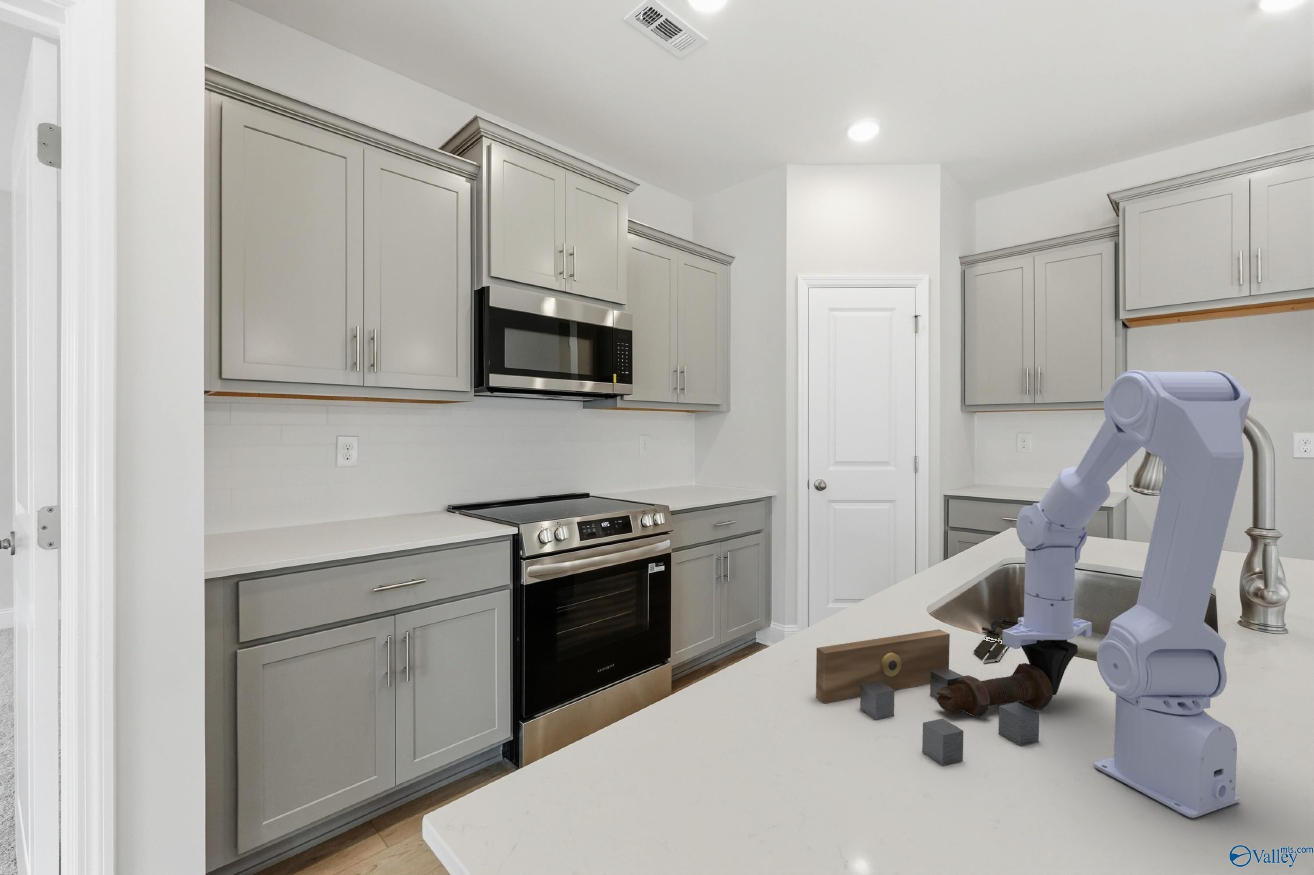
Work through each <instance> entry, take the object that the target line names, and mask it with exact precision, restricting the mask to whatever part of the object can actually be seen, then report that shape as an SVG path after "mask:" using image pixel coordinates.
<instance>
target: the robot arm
mask: <svg viewBox="0 0 1314 875" xmlns="http://www.w3.org/2000/svg"><path fill="white" fill-rule="evenodd" d="M1251 400H1252V398H1251V395H1250V394H1249V393H1248V392H1247V391H1246V390H1245V389H1244V387H1243V386H1242V385H1241V384H1240V383H1239V382H1238V380H1237V379H1236V378H1235V377H1233V376H1232V374H1230V373H1228V372H1226V371H1222V370H1213V369H1212V370H1206V371H1145V370H1142V369H1141V370H1140V369H1131V370H1127V371H1125V372H1123V373H1122V374H1120V375H1118V377H1117V378H1116V379H1115V380H1114V382H1113V384H1112V385H1111V387H1110V389H1109V392H1108V393H1107V394H1106V395H1105V396H1104V397H1103V412H1104V416H1105V420H1104V421H1103V423H1102V425H1101V427H1099V429H1098V431H1097V434H1096V435H1095V437H1094V438H1093V440H1092V442H1091V443H1090V445H1089V447H1088V449H1087V450H1086V452H1085V454H1084V456H1083V457H1082V459H1081V461H1080V462H1079V464H1078V466H1071V467H1066V468H1064V469H1062V470H1060V472H1059V473H1058V475H1057V477H1056V479H1055V480H1054V481H1053V482H1052V485H1050V487H1049V489H1047V492H1046V493H1045V494H1044V495H1043V497H1042V498H1041V500H1040V501H1039V502H1034V503H1032V505H1025V506H1023V507H1021V508H1020V511H1019V513H1018V515H1017V518H1016V524H1015V529H1016V535H1017V537H1018V541H1019V542H1020V543H1021V545H1022V546H1024V547H1025V548H1024V549H1025V552H1024V554H1025V555H1024V556H1025V558H1024V559H1025V560H1024V593H1023V594H1024V598H1023V600H1024V601H1023V602H1024V603H1023V604H1024V605H1023V616H1021V617H1017V621H1018V623H1019V624H1017V625H1015V626H1011V627H1012V628H1010V627H1009V628H1010V629H1006V630H1004V629H1002V630H1003V631H1002V636H1003V638H1002V637H1001V638H1002V644H1004V645H1006V646H1009V648H1012V649H1013V650H1018V649H1022V651H1023V653H1024V654H1025V656H1026V658H1027V661H1028V664H1031V665H1033V666H1036V667H1038V668H1040V669H1041V670H1042V671H1043V672H1044V673H1045V674H1046V676H1047V677H1048V679H1049V681H1050V683H1051V686H1052V691H1053V696H1057V694H1058V691H1059V688H1060V685H1061V682H1062V679H1063V677H1064V674H1065V671H1066V670H1067V668H1068V665H1069V664H1070V662H1071V661H1072V659H1073V658H1074V657H1075V656H1076V655H1077V653H1078V652H1079V651H1078V650H1079V649H1078V648H1079V647H1078V644H1076V643H1073V642H1071V641H1068V640H1073V639H1075V637H1079V636H1080V637H1081V636H1083V637H1086V638H1087V637H1088V638H1089V637H1092V627H1093V625H1092V624H1093V623H1092V622H1091V621H1089V620H1088V621H1087V620H1084V619H1081V618H1075V617H1074V614H1075V613H1074V612H1075V611H1074V610H1075V608H1074V607H1075V579H1076V578H1075V576H1076V575H1075V574H1076V573H1075V570H1076V564H1078V563H1079V560H1081V552H1082V551H1081V550H1082V549H1083V547H1084V545H1085V544H1086V542H1087V539H1088V532H1089V531H1087V530H1086V525H1087V524H1088V523H1089V521H1091V520H1092V518H1093V517H1094V515H1095V514H1096V513H1097V512H1098V511H1099V509H1100V508H1101V507H1103V505H1104V503H1105V502H1106V501H1107V500H1108V499H1109V498H1110V496H1111V488H1110V485H1109V483H1108V482H1109V481H1110V480H1111V479H1112V478H1113V477H1114V476H1115V475H1116V474H1117V472H1119V471H1120V470H1121V469H1122V468H1123V466H1124V465H1126V464H1127V462H1129V461H1130V460H1131V458H1133V456H1135V454H1136V453H1137V452H1138V451H1139V450H1140V449H1141V448H1143V449H1144V450H1146V451H1147V452H1149V453H1150V454H1152V455H1155V456H1156V457H1158V458H1159V459H1160V461H1161V462H1162V463H1163V465H1164V466H1165V470H1164V471H1165V472H1164V475H1163V481H1162V486H1161V490H1160V494H1159V498H1158V503H1157V509H1156V513H1155V518H1154V522H1153V526H1152V530H1151V531H1152V532H1151V534H1150V535H1151V536H1150V541H1149V545H1148V550H1147V555H1146V559H1145V563H1144V568H1143V573H1142V577H1141V582H1140V587H1139V591H1138V594H1137V595H1138V596H1137V602H1136V604H1135V605H1134V606H1132V607H1131V608H1130V609H1128V610H1126V611H1124V612H1123V613H1121V614H1119V615H1118V616H1116V617H1115V618H1114V619H1112V620H1111V621H1110V625H1109V629H1108V632H1107V634H1106V636H1105V637H1104V638H1103V639H1102V640H1101V641H1100V643H1099V644H1098V648H1097V651H1096V652H1097V653H1096V664H1097V669H1098V672H1099V674H1100V676H1101V679H1102V680H1103V681H1104V683H1105V684H1106V686H1108V689H1109V691H1110V692H1113V693H1114V694H1115V709H1114V710H1115V712H1114V745H1113V746H1114V750H1113V757H1109V758H1105V759H1103V760H1098V761H1096V762H1094V763H1093V764H1094V766H1093V767H1094V768H1096V769H1097V770H1099V771H1101V772H1103V773H1105V774H1106V775H1108V776H1110V777H1112V778H1114V779H1116V780H1118V781H1120V782H1122V783H1124V784H1126V785H1127V786H1129V787H1131V788H1133V789H1135V790H1137V791H1139V792H1141V793H1143V794H1144V795H1146V796H1149V797H1150V798H1152V799H1154V800H1156V801H1157V802H1159V803H1161V804H1163V805H1165V806H1167V807H1169V808H1171V809H1173V810H1174V811H1176V812H1178V813H1180V814H1181V815H1184V816H1186V817H1188V818H1191V819H1192V818H1193V819H1194V818H1198V817H1200V816H1203V815H1206V814H1209V813H1211V812H1214V811H1217V810H1220V809H1222V808H1226V807H1228V806H1231V805H1234V804H1238V803H1239V802H1240V797H1239V795H1237V794H1236V787H1237V786H1236V784H1237V782H1236V781H1237V759H1238V756H1237V755H1238V754H1237V753H1238V743H1237V738H1236V735H1235V733H1234V730H1233V729H1232V728H1231V727H1230V726H1228V725H1226V723H1225V724H1224V723H1222V722H1221V721H1219V720H1217V719H1215V717H1214V718H1213V717H1212V716H1211V715H1210V714H1208V713H1207V712H1206V711H1205V710H1206V709H1211V699H1213V698H1217V697H1218V696H1220V695H1221V694H1222V693H1223V692H1224V690H1225V688H1226V685H1227V680H1228V677H1227V676H1228V675H1227V668H1226V665H1225V658H1224V657H1225V651H1226V646H1227V642H1226V641H1225V640H1224V639H1223V637H1221V635H1220V634H1219V633H1218V632H1217V631H1215V630H1214V628H1212V627H1211V626H1210V625H1209V624H1207V623H1206V622H1205V618H1206V614H1207V611H1208V607H1209V603H1210V599H1211V596H1212V590H1213V587H1214V582H1215V579H1216V575H1217V571H1218V566H1219V561H1220V559H1221V554H1222V550H1223V546H1224V544H1225V543H1224V542H1225V540H1226V539H1225V538H1226V535H1227V530H1228V527H1229V522H1230V519H1231V515H1232V511H1233V507H1234V502H1235V498H1236V495H1237V494H1236V493H1237V490H1238V486H1239V482H1240V478H1241V474H1242V470H1243V466H1244V459H1245V450H1244V442H1243V433H1244V430H1245V429H1244V427H1245V424H1246V420H1247V417H1248V412H1249V410H1250V404H1251Z"/></svg>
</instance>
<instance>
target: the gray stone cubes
mask: <svg viewBox="0 0 1314 875" xmlns="http://www.w3.org/2000/svg"><path fill="white" fill-rule="evenodd" d="M961 676H963V674H960V673H958V672H956V671H954V670H953V669H950V668H949V669H948V668H945V669H939V670H934V671H931V678H930V684H929V685H930V686H929V687H930V688H929V690H930V693H929V694H930V695H929V696H930V697H932V698H934V700H935V699H936V700H937V699H938V697H939V696H940V695H937V691H938V690H939V689H941V688H942V687H946V686H951V685H955V684H956V682H957V681H958V679H959V678H960V677H961ZM895 691H896V690H894V689H892V688H891V687H889V686H887V685H886V684H884V683H882V682H881V681H879V680H878V681H873V682H867V683H862V684H861V686H860V697H859V698H860V699H859V700H860V703H859V705H860V706H859V707H860V708H859V710H860V711H862V712H863V713H864V714H866V715H867V716H869V717H871V718H872V719H873V720H875V721H877V720H882V719H887V718H892V717H895ZM998 735H1000V736H1001V737H1003V738H1005V739H1006V740H1008V741H1010V742H1012V743H1014V744H1015V745H1017V746H1020V747H1024V746H1028V745H1031V744H1036V743H1039V742H1040V741H1039V740H1040V739H1039V738H1040V713H1039V712H1038V711H1036V710H1034V709H1032V708H1029V707H1028V706H1025V705H1024V704H1021V703H1019V702H1012V703H1006V704H1001V705H998ZM921 749H922V750H921V752H922V753H923V754H925V755H926V756H927V757H929V758H930V759H932V760H933V761H935V762H936V763H938V765H941V766H943V767H944V766H947V765H951V764H956V763H960V762H963V761H964V730H963V729H961V728H960V727H958V726H956V725H955V724H953V723H951V722H950V721H948V720H947V719H945V718H938V719H933V720H928V721H924V722H922V748H921Z"/></svg>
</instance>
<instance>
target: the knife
mask: <svg viewBox="0 0 1314 875" xmlns="http://www.w3.org/2000/svg"><path fill="white" fill-rule="evenodd" d="M1017 624H1019V623H1018V619H1014V618H1010V617H1007V618H1005V617H1000V618H999V619H995V620H993V621H992V622H991V624H990V628H988V627H983V626H982V627H981V630H982V632H981V633H983V634H986V635H985V637H990V638H993V639H997V640H1002V638H1003V635H1002V637H1000V631H996V630H997V629H998V628H1000V629H1001V632H1003V630H1006V629H1010V628H1012V627H1014V626H1015V625H1017ZM1004 625H1005V626H1004ZM1006 626H1009V627H1006ZM985 637H984V638H985ZM999 638H1000V639H999ZM985 639H986V638H985ZM988 640H990V641H995V640H991V639H988ZM990 641H986V640H983V639H982V640H981V642H979V644H978V645H977V646H976V647H975V649H974V650H973V652H974V653H975V654H976V655H977V657H979V658H980V659H982V660H983V659H984V658H985V659H984V660H983V664H986V663H987V664H988V663H995V661H997V662H1000V661H999V660H1001V659H1000V657H1001V655H1002V654H1003V650H1005V648H1006V647H1008V646H1006V645H1004V644H1000V643H1001V641H999V643H998V642H996V644H995V643H994V642H990ZM993 644H994V645H993ZM992 645H993V646H994V647H993V646H992ZM991 646H992V647H993V648H992V647H991ZM990 647H991V648H992V649H991V648H990ZM989 649H990V650H989ZM986 653H987V654H988V653H989V654H988V655H987V654H986ZM986 655H987V656H986ZM985 656H986V657H985ZM983 657H984V658H983Z"/></svg>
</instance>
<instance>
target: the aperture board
mask: <svg viewBox="0 0 1314 875" xmlns="http://www.w3.org/2000/svg"><path fill="white" fill-rule="evenodd" d="M950 638H951V634H950V633H948V632H946V631H944V630H941V629H933V630H926V631H919V632H914V633H913V632H912V633H906V634H899V635H893V636H887V637H886V636H885V637H878V638H872V639H867V640H866V639H865V640H859V641H852V642H846V643H840V644H831V645H827V646H820V647H816V655H815V656H816V657H815V658H816V659H815V660H816V664H815V666H816V667H815V668H816V670H815V673H816V674H815V675H816V676H815V679H816V680H815V698H816V699H818V700H819V701H820V702H822V703H823V704H825V705H826V704H831V703H834V702H835V703H836V702H840V701H846V700H851V699H857V698H860V686H861V684H862V683H867V682H873V681H878V680H879V681H881V682H882V683H884V684H886V685H887V686H889V687H891V688H892V689H894V690H895V691H898V690H904V689H909V688H914V687H919V686H926V685H930V678H931V671H934V670H939V669H945V668H948V669H950V644H951V643H950V641H951V640H950Z"/></svg>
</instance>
